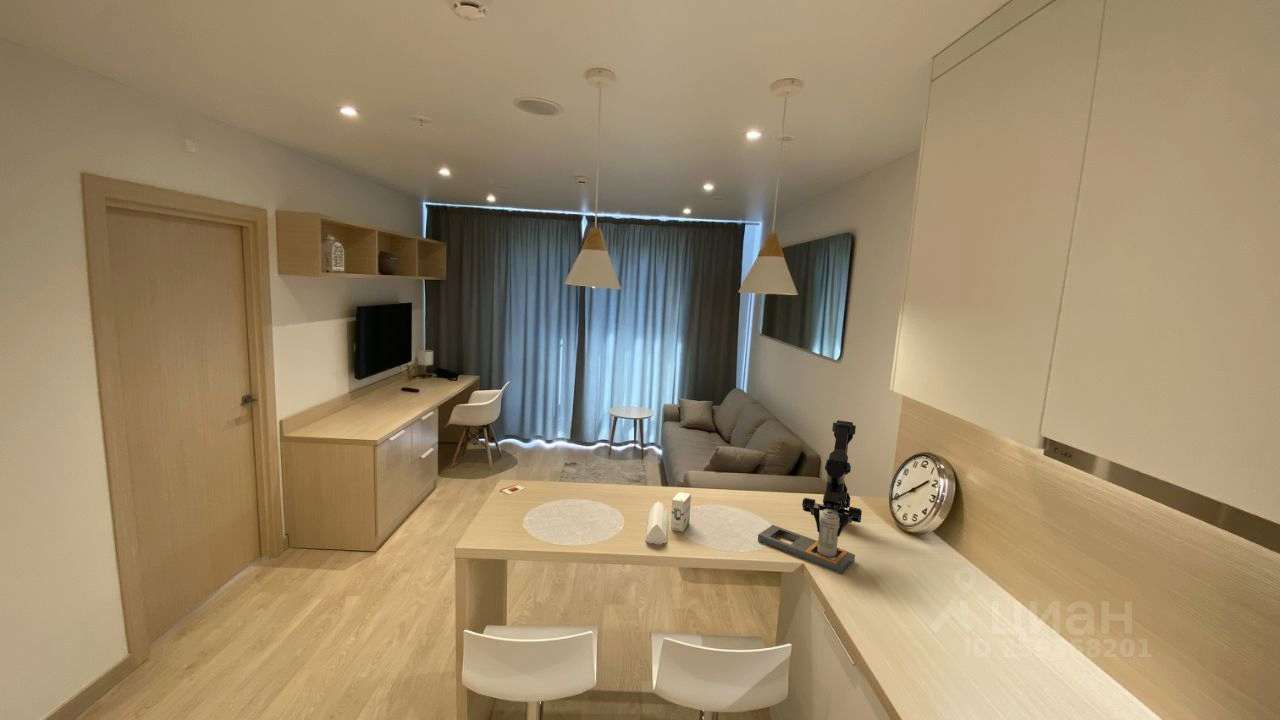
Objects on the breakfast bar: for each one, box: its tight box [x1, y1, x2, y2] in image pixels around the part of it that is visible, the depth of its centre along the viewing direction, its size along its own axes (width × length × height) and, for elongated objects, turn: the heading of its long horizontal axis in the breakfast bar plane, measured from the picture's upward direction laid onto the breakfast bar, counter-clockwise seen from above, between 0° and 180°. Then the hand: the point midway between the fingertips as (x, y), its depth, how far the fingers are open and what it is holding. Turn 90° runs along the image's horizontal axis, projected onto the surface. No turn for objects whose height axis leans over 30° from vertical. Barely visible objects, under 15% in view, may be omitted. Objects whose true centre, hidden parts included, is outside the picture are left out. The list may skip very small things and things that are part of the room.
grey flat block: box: [757, 524, 856, 575], centre depth 176 cm, size 30×11×3 cm, turn 48°
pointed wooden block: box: [645, 501, 669, 545], centre depth 188 cm, size 7×7×24 cm
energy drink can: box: [817, 509, 840, 559], centre depth 170 cm, size 6×6×15 cm
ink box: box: [670, 491, 692, 532], centre depth 191 cm, size 9×5×12 cm, turn 157°
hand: (828, 534), depth 169 cm, fingers closed on energy drink can, 6 cm apart
